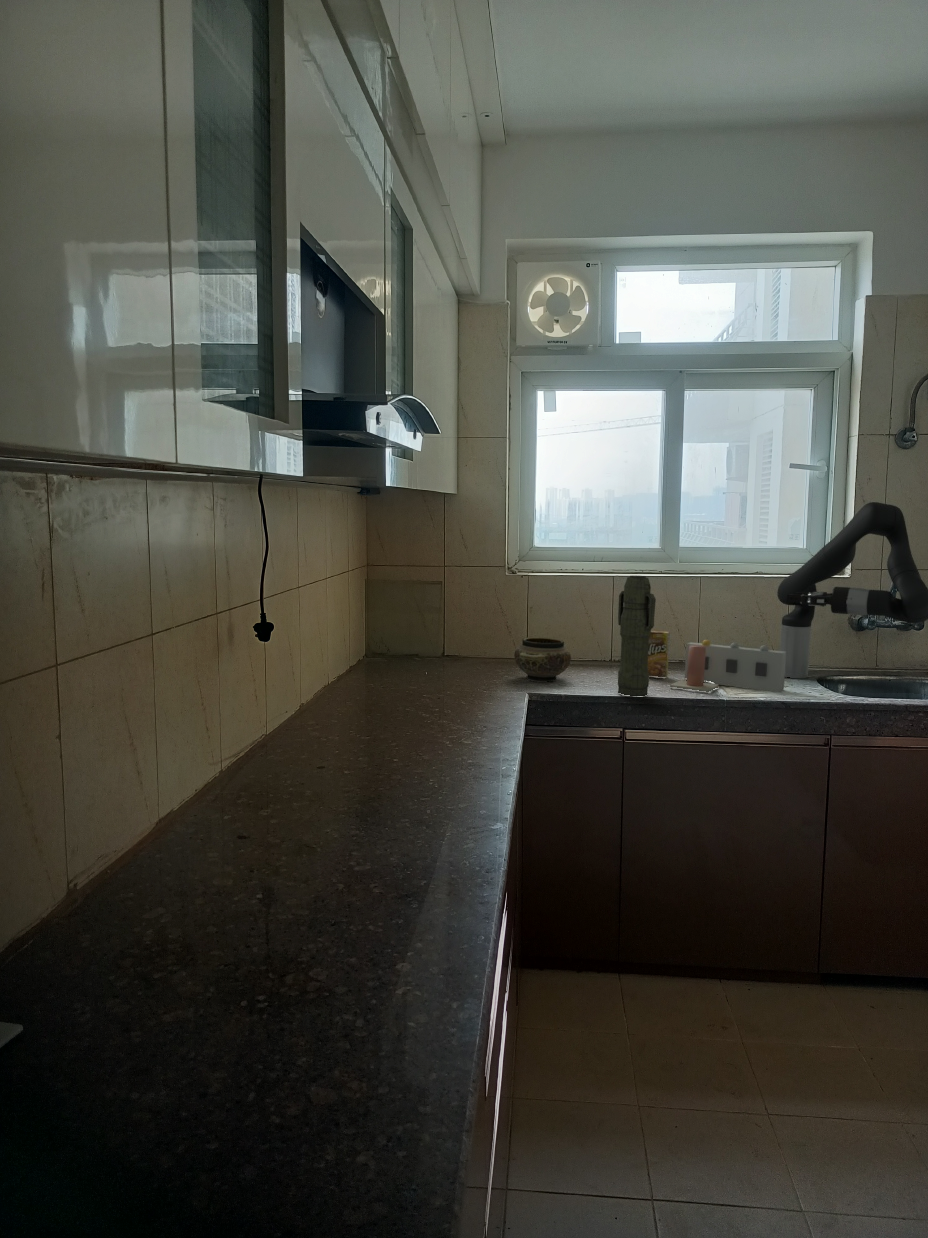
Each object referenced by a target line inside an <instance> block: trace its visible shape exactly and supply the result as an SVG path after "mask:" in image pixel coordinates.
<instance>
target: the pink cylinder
mask: <svg viewBox="0 0 928 1238" xmlns="http://www.w3.org/2000/svg"><path fill="white" fill-rule="evenodd" d="M705 655H706V646H702V645H689V656H688V670H687V685H690V686H703V682H704V668H705Z"/></svg>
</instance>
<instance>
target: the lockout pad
mask: <svg viewBox="0 0 928 1238" xmlns="http://www.w3.org/2000/svg"><path fill="white" fill-rule="evenodd" d="M670 687H677V688H683V689H692V690H699V691H706V692H709V691H711V690H713V689H715V688H718V687H720V686H719V685H718V684H710V683H703V686H690V685H687V681H686V680H685V679H684V680H683V679H681V680H678V681H676V682H673V683H672V684H669V688H670Z"/></svg>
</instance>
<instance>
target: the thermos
mask: <svg viewBox="0 0 928 1238" xmlns="http://www.w3.org/2000/svg"><path fill="white" fill-rule="evenodd" d="M651 589H652V587H651V582H650V580H649V577H647V576H645V575H630V576H627V577H626V580H625V583H624V586H623V590H621V592H620V593H619V595H618V609H617V610H618V613H617V615H618V616H617V621H618V623H617V624H618V626H619V629H620V631H619V635H620V637H621V638H620V639H621V642H620V643H621V645H620V646H621V647H620V667H619V669H618V671H617V686H618V688H617V694H618V693H621V694H624V695H630V696H645V695H647V694H648V691H649V690H648V689H649V685H650V678H649V671H648V646H649V638H650V636H651V631H652V629H653V628H654V627H655V614H656V613H655V612H656V603H657V601H656V597H655V595H654V593H651V591H652V590H651ZM647 696H648V695H647ZM645 697H646V696H645Z"/></svg>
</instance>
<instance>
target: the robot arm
mask: <svg viewBox="0 0 928 1238" xmlns="http://www.w3.org/2000/svg"><path fill="white" fill-rule="evenodd" d="M905 519H906V518H905V516H904V513H903V512H902V510H901V508H899V507H898V506H896V505H893V504H888V503H882V502H877V501H872V502H871V501H870V502H867V503H866V504H865V505H863V506H862V507H861V508H860V509H859V510H858V511H857V513H856V514H855V515H854V516H853V517H852V518H851V519H850V520H849V521H848V523H847V524H846V525H845V526H844V527H843V528H842V529H840V531H839V532H838V533H837V534H836V535H834V537H833V538H832V539H831V540H830V541H829V542H827V543H826V544H825V545H823V547H821V549H819V550H818V551H817V553H815V554H814V555H813V556H812V557H811V558H810V559H809V560H807V561H806V562H805V563H804V564H803V565H802V566H801V567H799V568H798V569H797V570H795V571H794V572H792V573H791V574H790V575H788V576H787V577H785V578H784V579H783V580H782V581H781V582H780V583H779V586H778V588H777V592H776V593H777V594H776V595H777V599H778V600H779V602H781V604H783V605H786V606H794V608H793V609H792V611H791V612H789V613H786V614H784V615H783V616H782V618H781V629H780V630H781V631H780V643H779V644H780V646H779V651H784V652H786V663H785V678H787V677H790V678H789V679H807V678H808V677H809V664H810V663H809V662H810V650H811V647H810V646H811V634H812V633H811V632H812V623H813V620H814V616H815V610H816V607H822V608H823V607H826V606H827V605H830V611H831V613H833V614H839V615H853V616H863V615H864V616H866V615H867V616H881V617H882V616H883V617H886V618H890V619H893V620H897V621H900V622H904V623H909V624H919V623H923V622H926V621H928V587H927V585H926V583H925V582H924V581H923V579H922V577H921V574H920V572H919V570H918V567H917V564H916V562H915V560H914V557H913V554H912V551H911V547H910V541H909V540H910V539H909V534H908V530H907V529H908V528H907V524H906V520H905ZM868 535H876V536H881V537H885V538H886V540H887V541H888V542H889V544H890V551H889V555H888V558H887V561H886V568H887V572H888V575H889V577H890V580H891V582H892V585H893V587H894V588H895V590H896V591H897V592H898V593H899V596H900V598H897V597H895V596H894V595H893V593H892V592H890V591H889V590H883V589H881V590H880V589H869V588H867V589H866V588H861V587H849V586H847V587H845V586H834V587H833V589H832V591H831V593H828V591H817V585H816V584H819V583H821V582H823V581H826V580H828V579H831V578H834V577H835V576H837V575H838V574H840V573H841V572H842V571H844V570H845V569H846V568H847V567H849V566H850V565H851V563H853V561H854V560H855V556H856V550H857V549H856V548H857V544H858V542H859V541H860V540H861V539H863V538H864V537H865V536H868Z"/></svg>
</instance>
